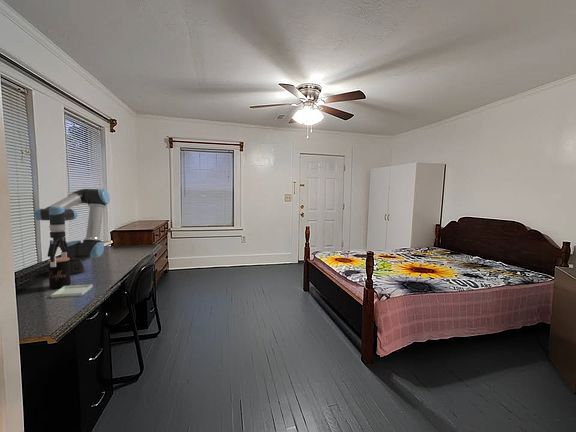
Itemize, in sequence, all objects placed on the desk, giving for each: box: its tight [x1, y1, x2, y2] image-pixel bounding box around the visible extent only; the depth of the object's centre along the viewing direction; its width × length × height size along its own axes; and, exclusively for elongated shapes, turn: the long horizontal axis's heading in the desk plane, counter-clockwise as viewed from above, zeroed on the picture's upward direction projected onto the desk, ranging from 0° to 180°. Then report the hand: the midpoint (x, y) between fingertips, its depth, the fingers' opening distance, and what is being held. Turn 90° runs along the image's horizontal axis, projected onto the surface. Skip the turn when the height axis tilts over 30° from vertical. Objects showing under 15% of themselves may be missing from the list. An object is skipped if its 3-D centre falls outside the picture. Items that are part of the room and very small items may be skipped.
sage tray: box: [50, 284, 94, 299], centre depth 170 cm, size 16×16×2 cm
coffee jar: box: [47, 257, 72, 290], centre depth 178 cm, size 11×11×18 cm
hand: (58, 264), depth 178 cm, fingers open, 13 cm apart
